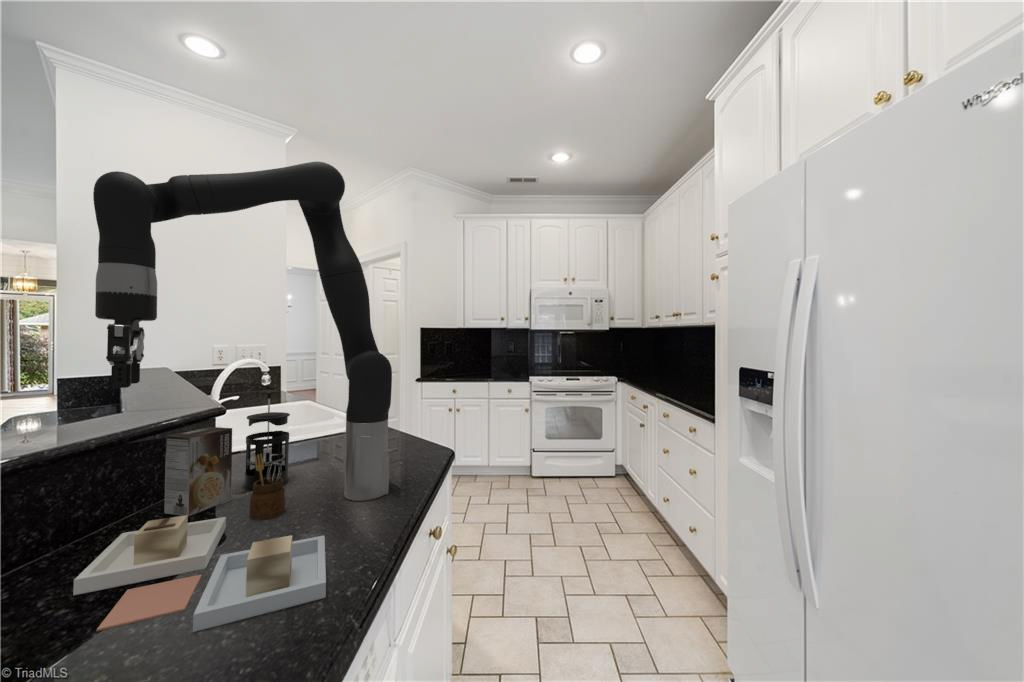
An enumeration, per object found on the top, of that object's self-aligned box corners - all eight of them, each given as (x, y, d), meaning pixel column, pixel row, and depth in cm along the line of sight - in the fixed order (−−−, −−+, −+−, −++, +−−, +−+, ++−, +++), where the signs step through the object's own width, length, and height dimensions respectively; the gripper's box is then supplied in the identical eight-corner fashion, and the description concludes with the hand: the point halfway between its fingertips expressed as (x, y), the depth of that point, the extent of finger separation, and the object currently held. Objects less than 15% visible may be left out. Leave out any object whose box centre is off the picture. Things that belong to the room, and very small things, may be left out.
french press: (278, 491, 88) (281, 393, 89) (233, 493, 86) (236, 393, 87) (297, 474, 100) (299, 387, 100) (258, 475, 98) (260, 387, 98)
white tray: (225, 531, 69) (226, 516, 69) (205, 572, 57) (205, 554, 57) (121, 548, 63) (122, 533, 63) (73, 599, 50) (73, 579, 50)
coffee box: (208, 498, 83) (210, 425, 84) (232, 501, 82) (234, 427, 82) (162, 516, 74) (164, 435, 75) (188, 520, 73) (190, 437, 73)
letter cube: (186, 545, 63) (187, 513, 63) (176, 560, 59) (177, 526, 59) (147, 552, 61) (148, 519, 61) (133, 568, 56) (134, 533, 56)
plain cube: (291, 568, 57) (292, 535, 57) (289, 587, 53) (290, 551, 53) (251, 577, 55) (252, 542, 55) (245, 597, 50) (246, 560, 50)
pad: (201, 579, 55) (201, 574, 55) (184, 615, 48) (184, 608, 48) (127, 595, 51) (127, 589, 51) (96, 636, 44) (96, 629, 44)
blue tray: (324, 550, 63) (324, 535, 63) (325, 601, 51) (325, 582, 51) (220, 572, 57) (220, 555, 57) (192, 637, 44) (193, 614, 44)
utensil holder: (263, 525, 71) (265, 462, 72) (241, 519, 74) (242, 458, 74) (291, 512, 77) (293, 454, 77) (269, 507, 79) (271, 450, 79)
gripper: (151, 290, 62) (150, 387, 62) (161, 298, 74) (161, 381, 73) (83, 285, 58) (82, 391, 58) (106, 295, 69) (105, 383, 69)
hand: (126, 385), depth 66 cm, fingers open, 8 cm apart
